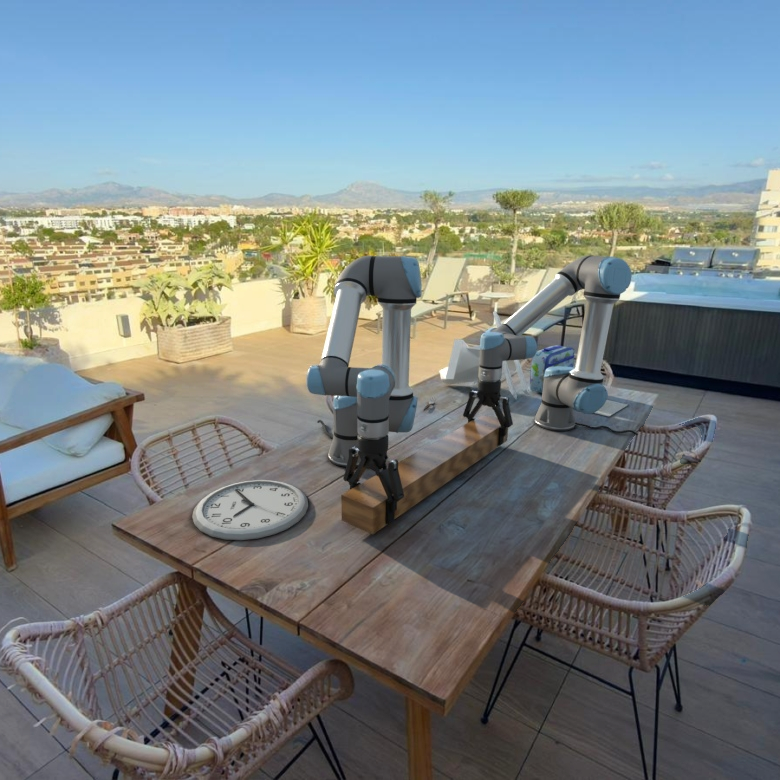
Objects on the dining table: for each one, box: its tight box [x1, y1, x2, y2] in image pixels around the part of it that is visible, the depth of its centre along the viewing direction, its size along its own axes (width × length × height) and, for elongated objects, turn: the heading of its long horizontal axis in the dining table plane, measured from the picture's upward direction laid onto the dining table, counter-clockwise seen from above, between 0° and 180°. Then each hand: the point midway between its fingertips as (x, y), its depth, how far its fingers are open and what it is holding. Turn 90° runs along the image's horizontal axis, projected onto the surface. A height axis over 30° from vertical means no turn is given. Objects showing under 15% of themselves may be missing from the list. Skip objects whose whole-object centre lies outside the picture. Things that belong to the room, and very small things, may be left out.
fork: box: [422, 395, 437, 412], centre depth 223 cm, size 3×16×2 cm, turn 160°
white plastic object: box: [438, 310, 531, 400], centre depth 245 cm, size 37×45×31 cm
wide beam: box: [340, 414, 509, 535], centre depth 156 cm, size 75×10×7 cm, turn 143°
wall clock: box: [191, 479, 309, 541], centre depth 140 cm, size 30×2×30 cm
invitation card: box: [593, 399, 629, 418], centre depth 226 cm, size 21×1×15 cm
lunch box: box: [529, 345, 575, 394], centre depth 245 cm, size 26×11×21 cm, turn 134°
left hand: (372, 514), depth 133 cm, fingers closed on wide beam, 10 cm apart
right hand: (486, 440), depth 181 cm, fingers closed on wide beam, 10 cm apart
